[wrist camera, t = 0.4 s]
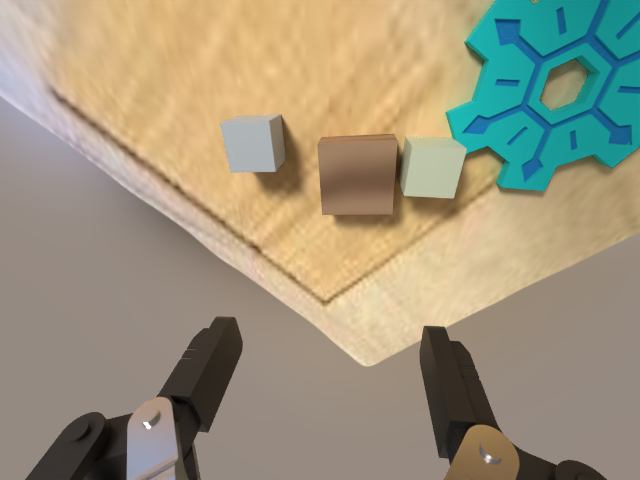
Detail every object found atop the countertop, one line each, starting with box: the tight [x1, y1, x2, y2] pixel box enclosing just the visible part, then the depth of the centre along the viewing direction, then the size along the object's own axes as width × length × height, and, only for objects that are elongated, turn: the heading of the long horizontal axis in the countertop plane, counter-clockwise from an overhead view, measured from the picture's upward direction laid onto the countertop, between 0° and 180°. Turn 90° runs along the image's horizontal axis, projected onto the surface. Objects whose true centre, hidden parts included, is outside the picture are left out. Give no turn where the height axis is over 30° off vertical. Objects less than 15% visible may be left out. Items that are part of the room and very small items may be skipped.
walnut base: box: [318, 134, 398, 215], centre depth 32 cm, size 8×8×4 cm
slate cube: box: [220, 114, 286, 172], centre depth 31 cm, size 5×5×5 cm
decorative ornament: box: [445, 0, 640, 191], centre depth 27 cm, size 20×2×20 cm
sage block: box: [399, 136, 467, 198], centre depth 30 cm, size 5×5×5 cm
